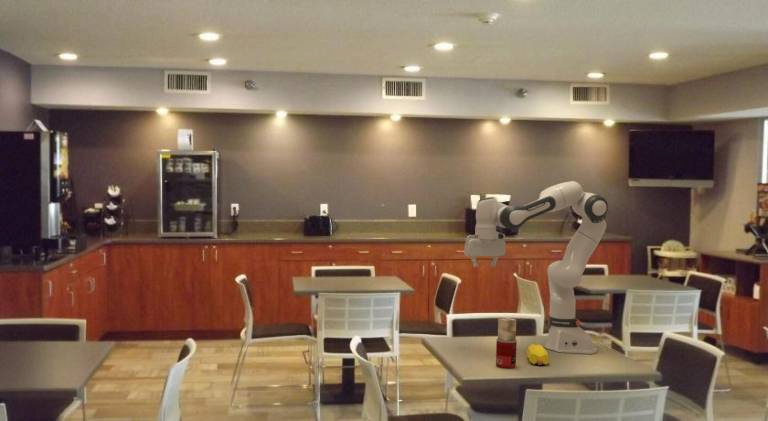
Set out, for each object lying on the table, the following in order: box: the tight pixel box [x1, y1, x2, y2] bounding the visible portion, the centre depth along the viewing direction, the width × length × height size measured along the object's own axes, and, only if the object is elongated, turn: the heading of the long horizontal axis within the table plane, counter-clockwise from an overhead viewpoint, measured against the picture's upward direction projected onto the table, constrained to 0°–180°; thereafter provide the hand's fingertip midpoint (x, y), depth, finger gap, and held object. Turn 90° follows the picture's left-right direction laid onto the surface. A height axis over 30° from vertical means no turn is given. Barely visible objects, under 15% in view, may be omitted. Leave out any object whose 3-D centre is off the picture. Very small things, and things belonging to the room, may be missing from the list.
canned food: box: [495, 337, 518, 369], centre depth 302 cm, size 8×8×11 cm
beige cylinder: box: [497, 317, 517, 341], centre depth 301 cm, size 5×5×8 cm
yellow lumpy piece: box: [526, 343, 550, 366], centre depth 312 cm, size 18×7×8 cm
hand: (484, 266), depth 327 cm, fingers open, 8 cm apart
